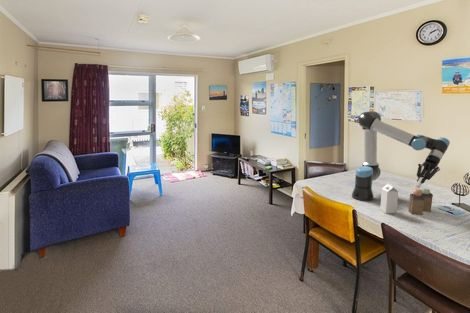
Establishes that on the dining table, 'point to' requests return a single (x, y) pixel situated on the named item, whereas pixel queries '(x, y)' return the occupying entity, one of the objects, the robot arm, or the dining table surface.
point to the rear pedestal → (427, 202)
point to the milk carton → (389, 199)
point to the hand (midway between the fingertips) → (417, 186)
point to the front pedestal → (416, 205)
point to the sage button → (425, 191)
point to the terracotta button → (417, 193)
